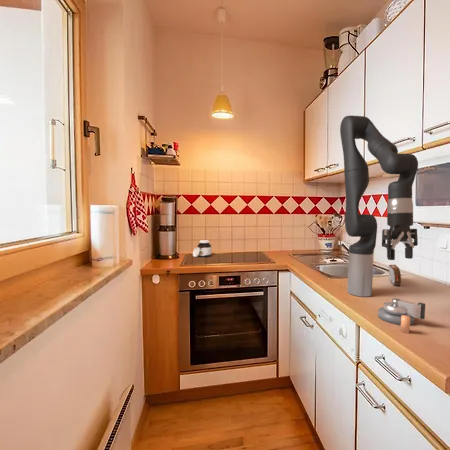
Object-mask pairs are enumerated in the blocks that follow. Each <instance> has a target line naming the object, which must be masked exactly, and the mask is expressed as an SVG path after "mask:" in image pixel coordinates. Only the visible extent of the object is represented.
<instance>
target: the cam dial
mask: <svg viewBox="0 0 450 450" xmlns="http://www.w3.org/2000/svg"><path fill="white" fill-rule="evenodd" d="M383 307H384V311H385V312H387V313H389V314H393V315H398V316H401V315H407V316H411V317H414V319H415V318H416V319H420V320H425V318H426V316H425V315H426V303H423V302H412V301H408V300H405V299H399V298H396V297H393V298H392V299H391V301H385V302H383Z"/></svg>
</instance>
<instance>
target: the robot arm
mask: <svg viewBox="0 0 450 450" xmlns="http://www.w3.org/2000/svg"><path fill="white" fill-rule="evenodd" d="M339 126H340V127H339V132H340V133H339V134H340V140H341V147H342V154H343V165H344V166H343V173H344V186H345V187H344V188H345V215H344V217H345V218H344V220H345V221H344V222H345V223H344V224H345V225H344V227H345V232H346V234H347V235H348V236H349V237H352V238H353V237H355V238H357V237H360V238H359V240H358V241H356V242H354V243H352V244H350V245H349V247H348V265H347V266H348V268H347V286H346V287H347V293H348V294H350V295H353V296H355V297H371V296H373V276H374V251H375V248H376V245H377V244H376V243H377V234H378V222H377V218H376V217H375V215H373V214H366V213H364V214H362V213H361V214H360V212H359V207H360V201H361V199H362V197H363V195H364V194H365V192H366V190H367V189H368V186H369V184H370V183H369V182H370V172H369V166H368V163H367V160H365V158H364V156H363V155H362V154H361V152H360V150H359V149H358V147H357V143H356V140H360V139H361V140H364V141H366V142H367V150H368V152H369V153H370V154H371V155H372V156H373V157H374V158H375V159H377V161H378V164H379V165H380V168H381V169H382V171H383V172H385V173H386V174H388V175H399V176H398V179H397V181H396V180H395V181H392V182H390V183H389V184H388V186H387V205H386V208H387V209H386V211H387V213H386V214H387V215H386V219H387V220H386V221H387V223H386V225H387V227H388V226H389V228H383V229H382V231H381V247H383V248H386V257H387V260H388V261H395V260H396V250H395V248H396V246H397V245H398V244H399V243H402V244H403V245H404V258H405V259H408V260H409V259H413V257H414V252H413V251H414V249H413V248H415V247H417V246H418V245H419V242H418V228H411V227H412V226H414V201H413V185H414V182H415V178H416V175H417V172H418V168H419V160H418V158H417V156H416V155H415V154H412V153H398V152H399V150H398V147H397V145H395V144H394V143H393V142H391V141H390V140H389V139H388V138H386V137H385V136H384V135H383V134H382V133H381V132H380V131H379V129H378V128H377V127H376V126H375V124H374V123H373V121H372V120H371V119H370V118H369V117H368V116H362V115H346V116H344V117H343V118H342V120H341V122H340V125H339Z"/></svg>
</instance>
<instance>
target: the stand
mask: <svg viewBox="0 0 450 450" xmlns="http://www.w3.org/2000/svg"><path fill="white" fill-rule="evenodd" d="M377 311H378V312H377V318H379V319H380V320H381V321H384V322H387V323H389V324H393V325H396V326H397V325H399V326H400V332H402V333H403V334H410V332H411V331H410V330H411V329H410V328H411V326H412V325H414V324H415V317H411V316H407V315H401V316H398V315H393V314H389V313H387V312H385V311H384V306H383V307H379V308H378V310H377Z"/></svg>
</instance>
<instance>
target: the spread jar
mask: <svg viewBox="0 0 450 450" xmlns="http://www.w3.org/2000/svg"><path fill="white" fill-rule="evenodd" d="M212 250H213V249H212V244H211V243H210V240H208V239H200V240H199V243H198V244H197V246H196V247H194V249H193V251H192V257H194V258H198V257H200V258H208V257H209V258H210V256H211V255H212V252H213V251H212Z"/></svg>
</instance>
